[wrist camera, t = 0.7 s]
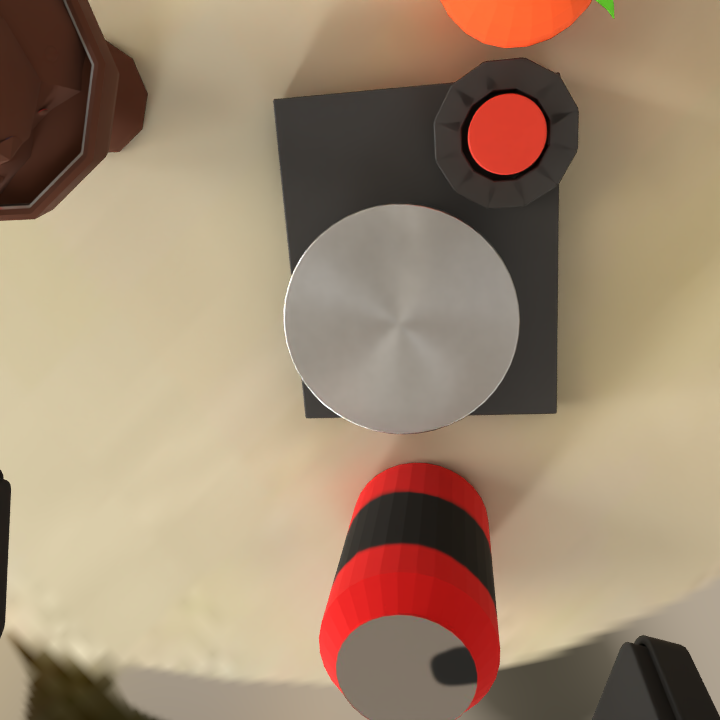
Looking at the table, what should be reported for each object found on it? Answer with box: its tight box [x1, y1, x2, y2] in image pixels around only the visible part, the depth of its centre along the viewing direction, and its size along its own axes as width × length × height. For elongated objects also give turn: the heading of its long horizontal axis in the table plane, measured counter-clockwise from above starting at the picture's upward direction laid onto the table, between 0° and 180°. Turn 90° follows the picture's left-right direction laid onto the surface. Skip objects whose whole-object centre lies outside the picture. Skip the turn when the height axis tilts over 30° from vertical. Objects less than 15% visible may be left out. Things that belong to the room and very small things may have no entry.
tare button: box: [468, 94, 547, 175], centre depth 28 cm, size 3×3×2 cm
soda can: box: [319, 463, 500, 720], centre depth 32 cm, size 8×8×12 cm
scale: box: [273, 58, 579, 418], centre depth 32 cm, size 16×14×3 cm
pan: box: [284, 203, 520, 434], centre depth 31 cm, size 11×11×1 cm
